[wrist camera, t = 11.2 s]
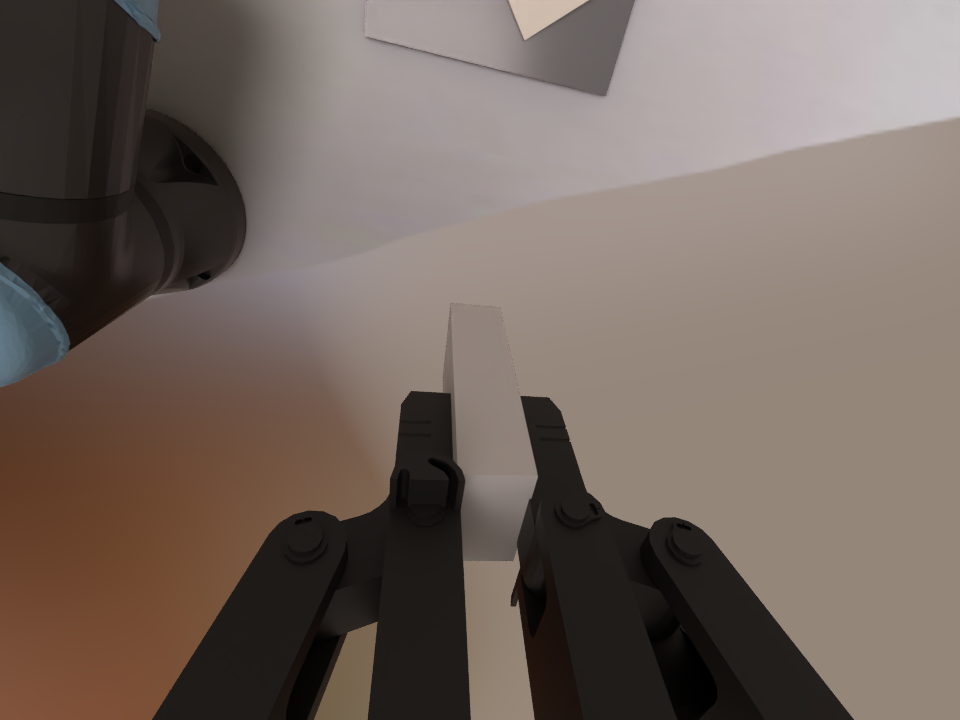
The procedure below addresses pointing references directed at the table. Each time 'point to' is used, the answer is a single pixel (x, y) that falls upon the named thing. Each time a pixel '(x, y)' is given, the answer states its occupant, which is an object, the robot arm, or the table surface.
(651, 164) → the table surface
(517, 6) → the base
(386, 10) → the slate board
